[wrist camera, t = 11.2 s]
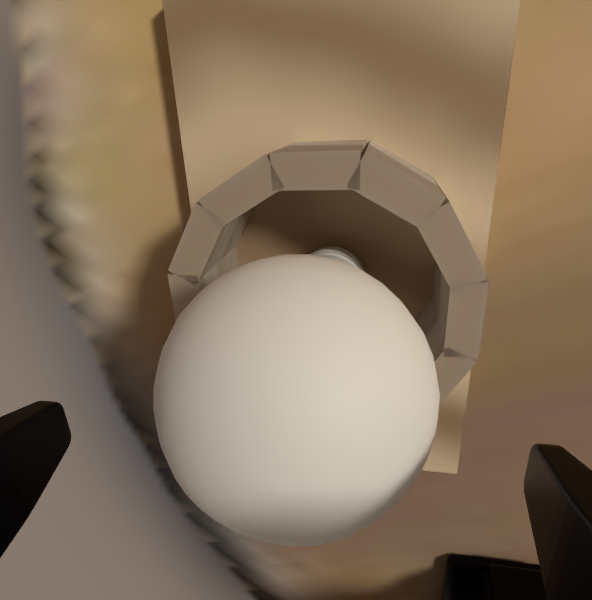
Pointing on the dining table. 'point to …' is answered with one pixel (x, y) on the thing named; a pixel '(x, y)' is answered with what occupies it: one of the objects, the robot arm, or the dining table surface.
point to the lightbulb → (296, 399)
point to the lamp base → (349, 153)
